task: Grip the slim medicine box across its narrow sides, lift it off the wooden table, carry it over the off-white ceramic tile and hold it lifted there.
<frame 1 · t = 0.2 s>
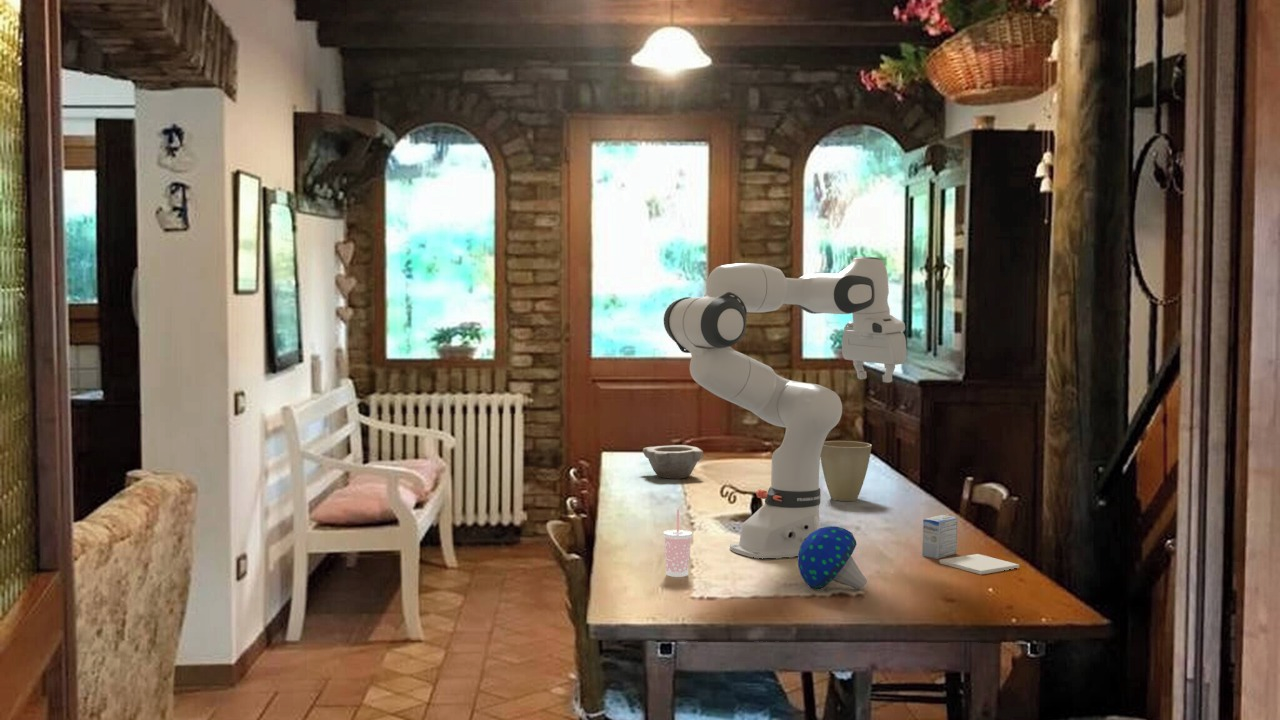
hand: (874, 380, 299), 39 cm above the table, tool pointing down, fingers open, 8 cm apart
medicine box: (939, 556, 284), on the table
mortar: (672, 477, 389), on the table
ceramic tile: (979, 565, 274), on the table
beverage cup: (677, 575, 262), on the table
plant pot: (843, 499, 354), on the table
mushroom: (830, 589, 252), on the table
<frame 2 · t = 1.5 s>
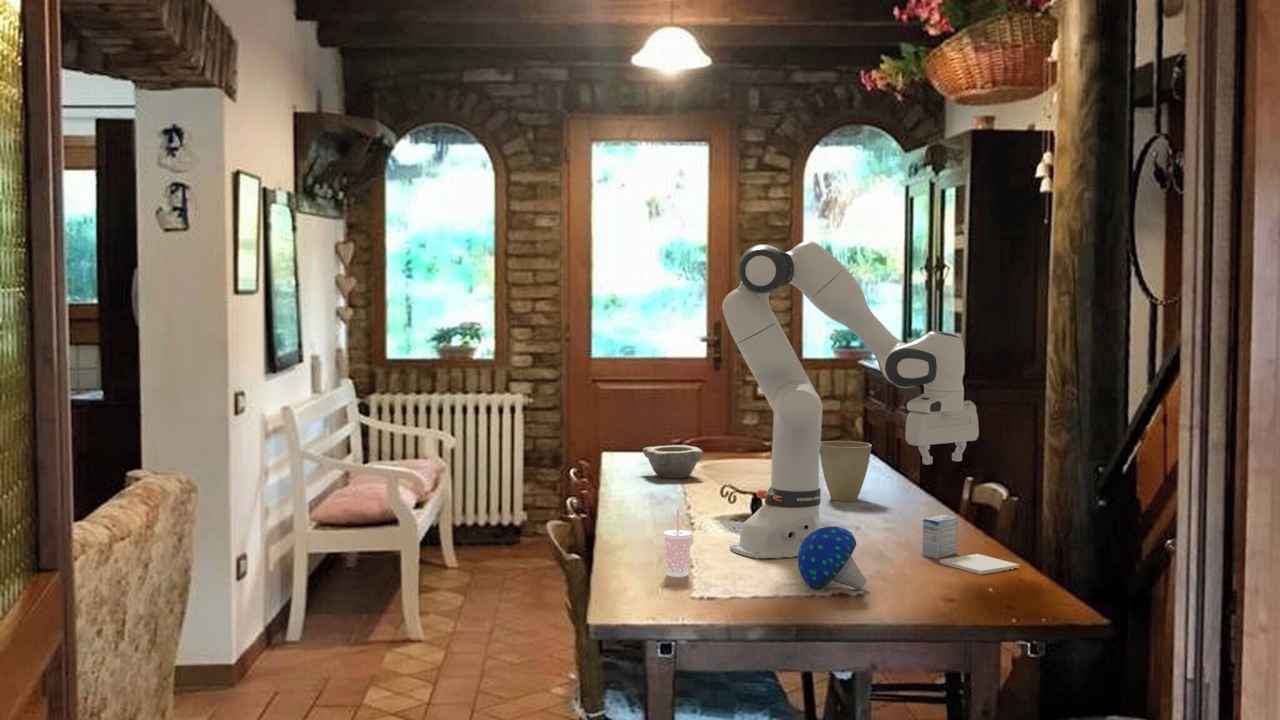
hand: (942, 462, 283), 21 cm above the table, tool pointing down, fingers open, 8 cm apart
nothing on the table moved.
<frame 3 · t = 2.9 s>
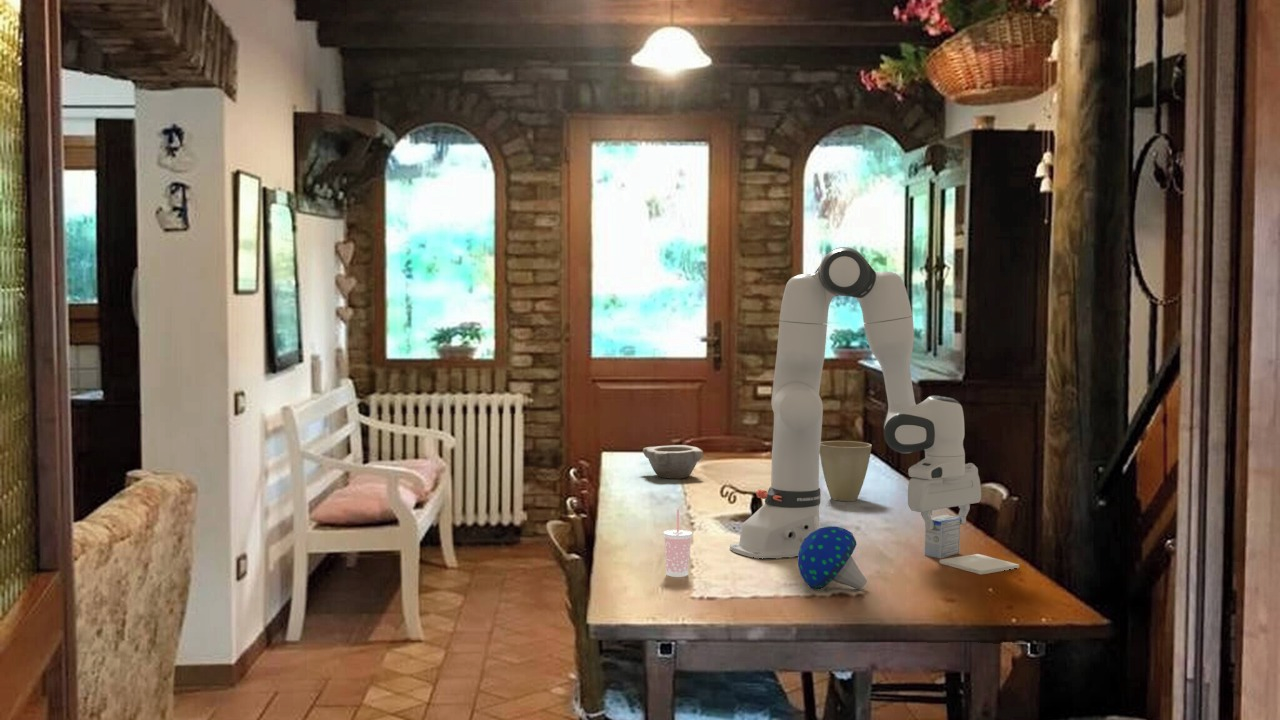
hand: (945, 526, 283), 7 cm above the table, tool pointing down, fingers closed on medicine box, 8 cm apart
medicine box: (941, 555, 284), on the table, touching gripper
everything else where it was.
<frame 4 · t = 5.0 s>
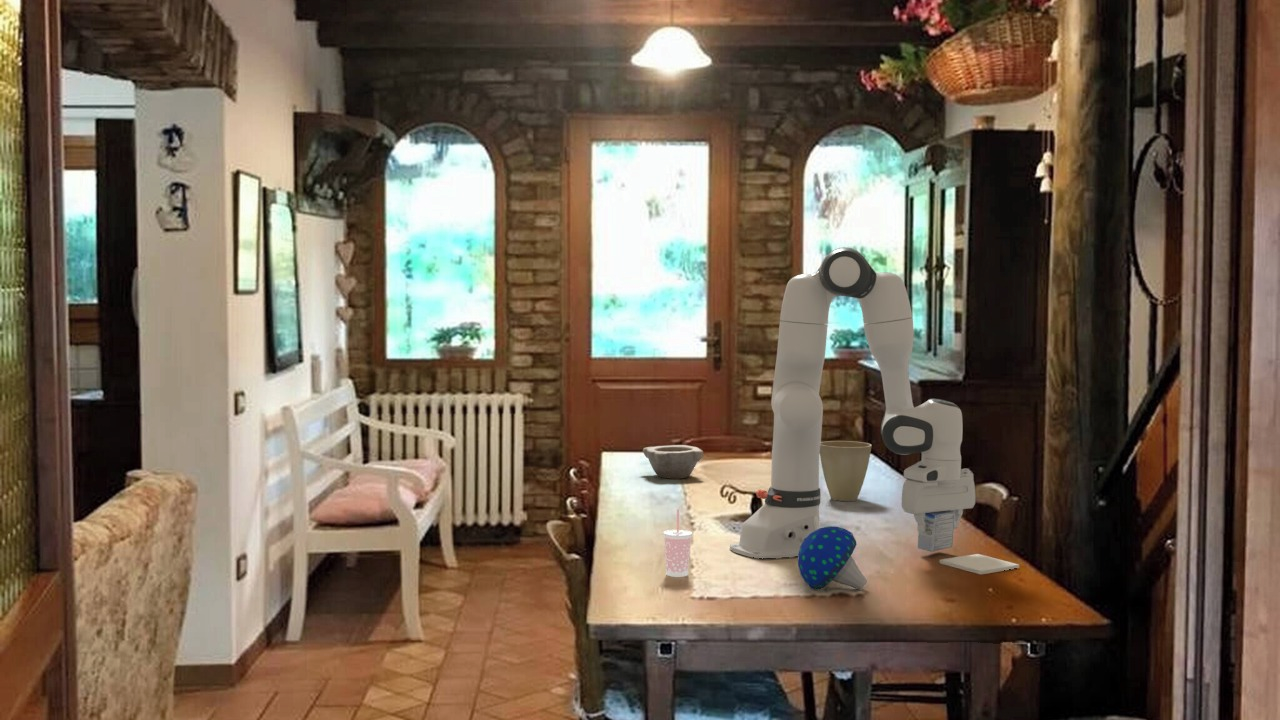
hand: (937, 530, 283), 6 cm above the table, tool pointing down, fingers closed on medicine box, 8 cm apart
medicine box: (935, 549, 284), point 1 cm above the table, touching gripper
everything else where it was.
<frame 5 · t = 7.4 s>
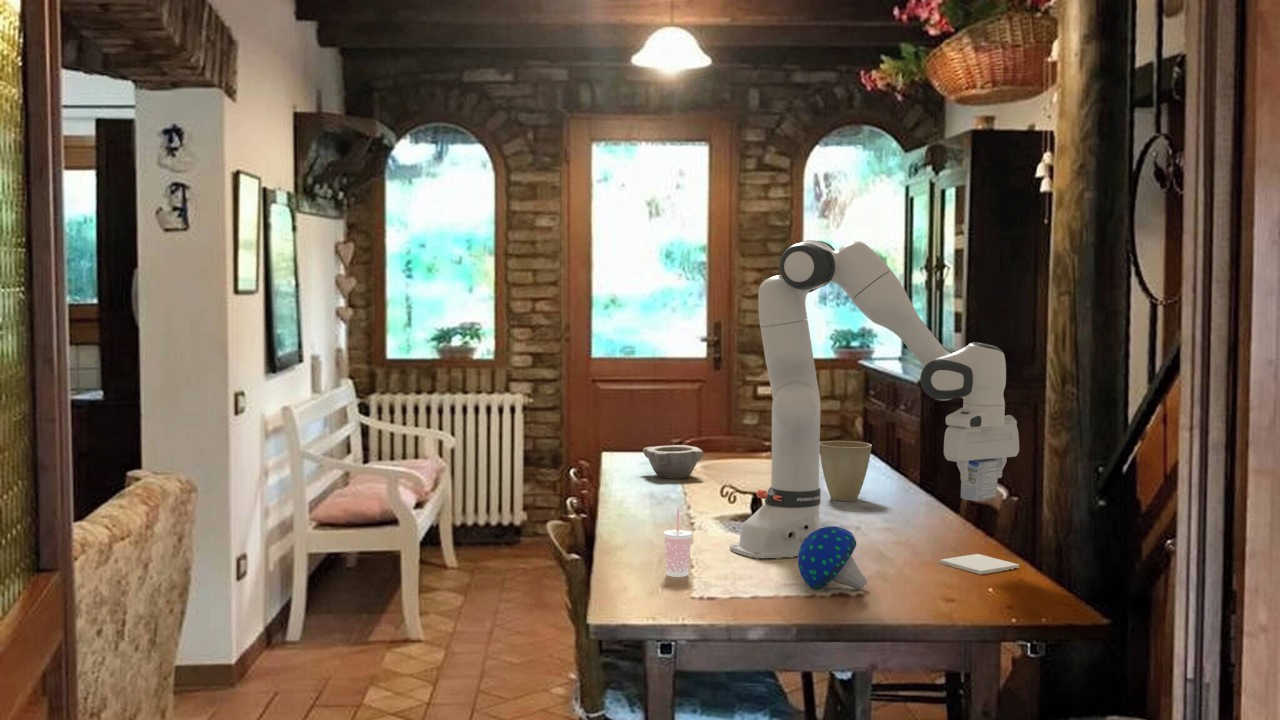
hand: (981, 479, 272), 19 cm above the table, tool pointing down, fingers closed on medicine box, 8 cm apart
medicine box: (978, 499, 273), point 15 cm above the table, touching gripper
everything else where it was.
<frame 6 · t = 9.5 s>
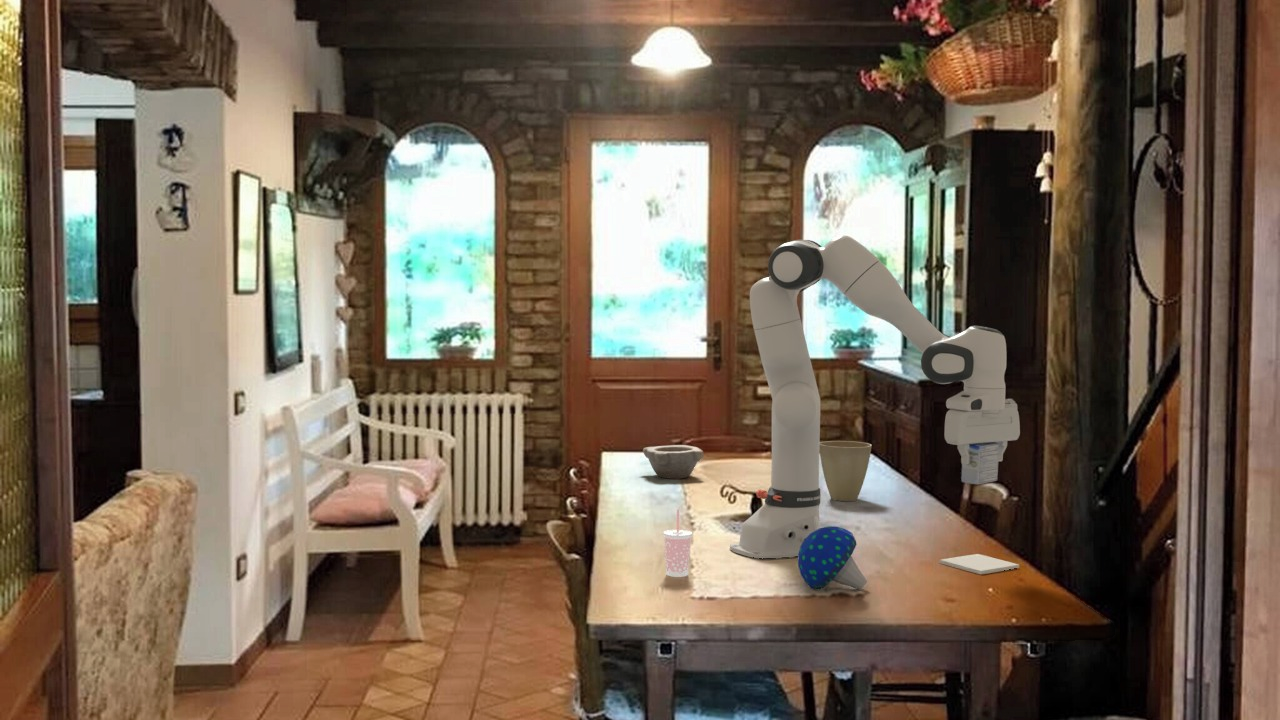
hand: (982, 462, 272), 23 cm above the table, tool pointing down, fingers closed on medicine box, 8 cm apart
medicine box: (979, 482, 273), point 18 cm above the table, touching gripper
everything else where it was.
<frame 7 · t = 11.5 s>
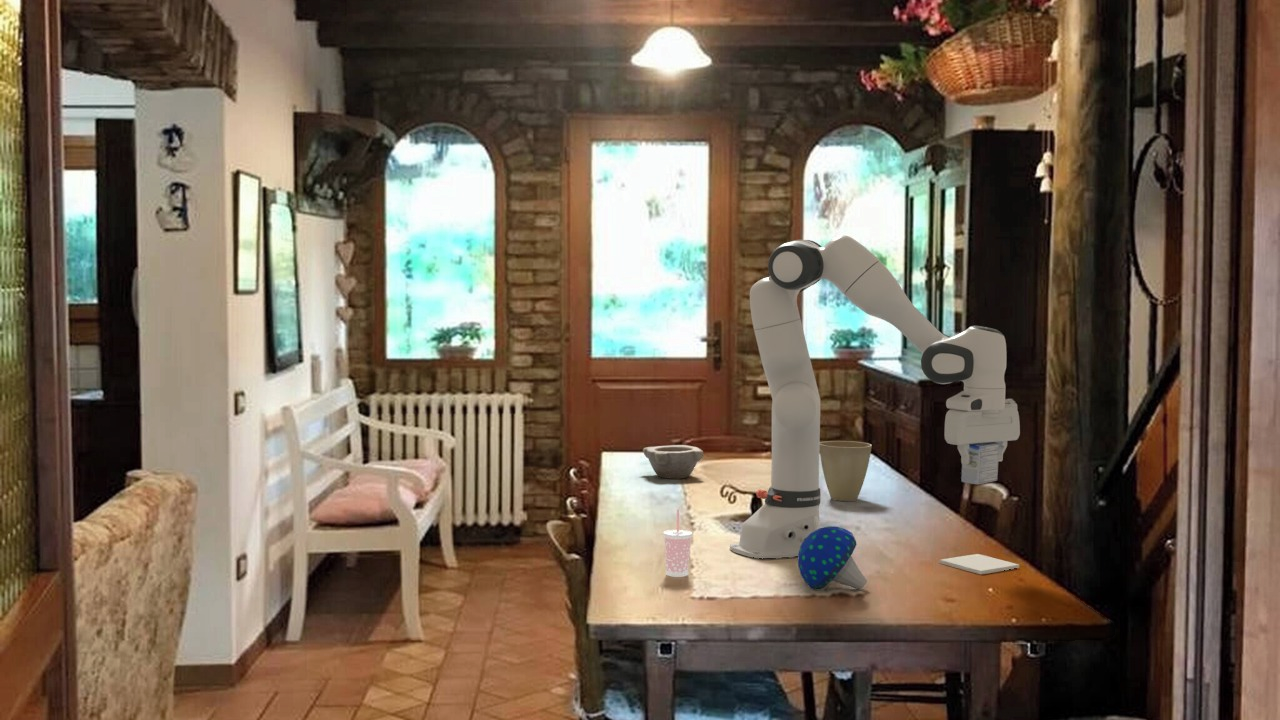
hand: (982, 462, 272), 23 cm above the table, tool pointing down, fingers closed on medicine box, 8 cm apart
medicine box: (979, 482, 273), point 18 cm above the table, touching gripper
everything else where it was.
at the end: the gripper is holding medicine box; medicine box point 18.5 cm above the table; medicine box inside the target area on the ceramic tile (0.6 cm from its centre), point 18.5 cm above the ceramic tile's base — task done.
